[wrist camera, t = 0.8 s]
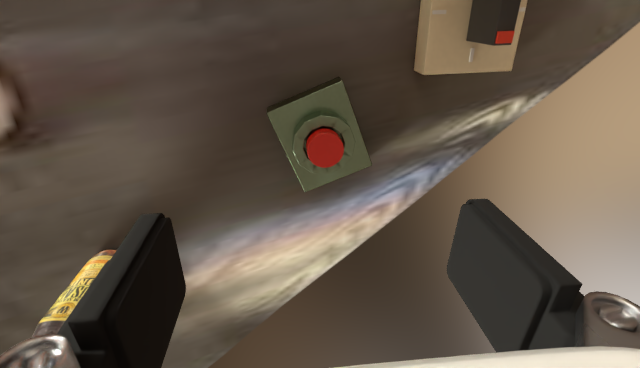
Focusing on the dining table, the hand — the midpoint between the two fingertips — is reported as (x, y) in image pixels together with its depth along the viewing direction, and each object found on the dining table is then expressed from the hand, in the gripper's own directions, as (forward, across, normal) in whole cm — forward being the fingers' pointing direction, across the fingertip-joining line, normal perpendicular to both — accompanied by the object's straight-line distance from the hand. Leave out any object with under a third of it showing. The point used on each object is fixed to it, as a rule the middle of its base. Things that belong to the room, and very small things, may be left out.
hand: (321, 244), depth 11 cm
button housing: (+30, -3, +7) cm, 31 cm away
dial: (+27, -19, -7) cm, 34 cm away
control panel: (+30, -19, -7) cm, 36 cm away
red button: (+27, -3, +7) cm, 28 cm away
